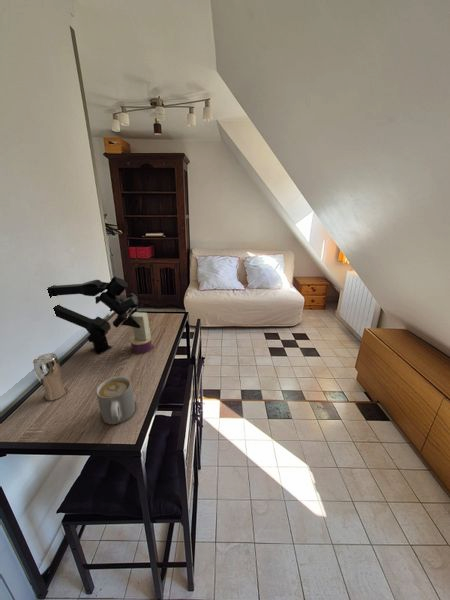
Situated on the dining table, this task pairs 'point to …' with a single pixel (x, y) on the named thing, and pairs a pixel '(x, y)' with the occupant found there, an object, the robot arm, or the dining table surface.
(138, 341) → the jar
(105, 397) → the coffee mug
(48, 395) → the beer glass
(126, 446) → the dining table surface
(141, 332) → the cosmetic box
